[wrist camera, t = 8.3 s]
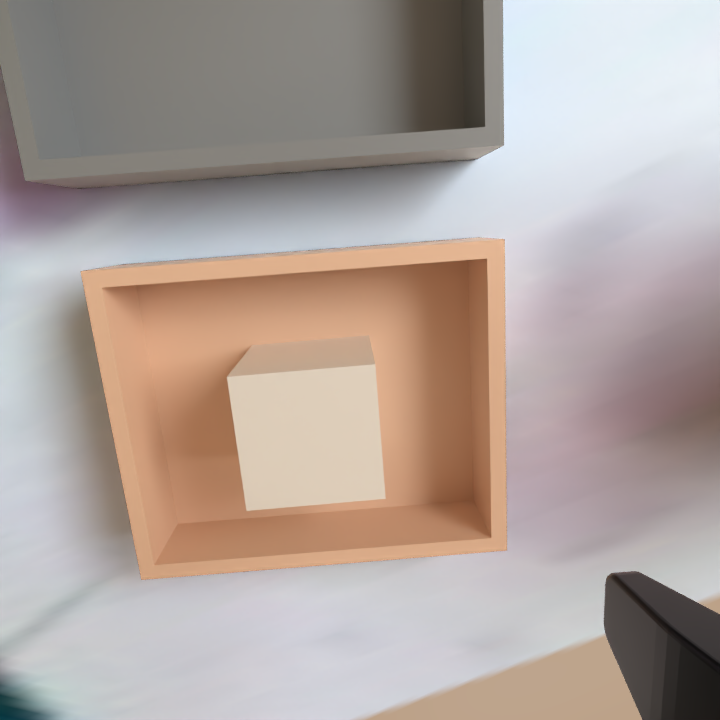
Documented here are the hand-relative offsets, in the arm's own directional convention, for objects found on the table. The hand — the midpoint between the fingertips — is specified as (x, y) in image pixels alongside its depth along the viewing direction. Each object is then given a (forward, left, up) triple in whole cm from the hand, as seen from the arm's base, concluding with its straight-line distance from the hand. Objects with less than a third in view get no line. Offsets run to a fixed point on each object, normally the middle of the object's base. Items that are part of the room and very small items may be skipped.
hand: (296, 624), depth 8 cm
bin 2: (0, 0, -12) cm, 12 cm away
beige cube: (0, 0, -11) cm, 11 cm away
